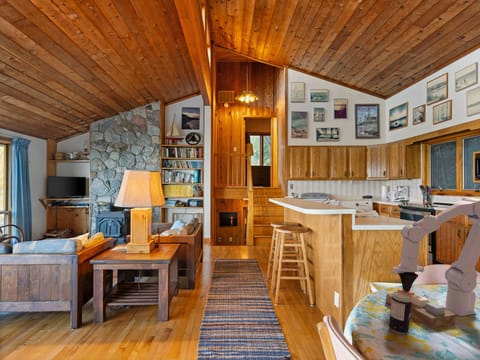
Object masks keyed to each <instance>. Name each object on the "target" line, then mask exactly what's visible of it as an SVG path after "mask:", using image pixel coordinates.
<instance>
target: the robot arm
mask: <svg viewBox="0 0 480 360" xmlns="http://www.w3.org/2000/svg"><path fill="white" fill-rule="evenodd" d="M460 215H463V216H466V217H468V218H469V220H470V221H471V223H472V226H471V228H470V230H469V232H468V235H467V237H466V239H465V242H464V244H463V247H462V249H461V251H460V255H459V256H458V259H457V260H456V261H454V262H451V264H450V266H449V267H448V269H446V270H445V272H444V278H445V280H446V281H447V289H446V297H445V298H446V300H445V304H440V305H441V306H443V307H445V309H446V310H448V311H450V312H452V313H454V314H456V316H459V317H463V316H471V315H477V312H476V311H475V307H476V306H475V305H476V299H477V298H476V297H477V296H476V293H475V289H476V288H477V286H478V284H477V279H478V277H479V276H478V272H477V270H476V269H475V268H476V265H477V263H478V260H479V258H480V199H479V198H473V197H469V196H467V197H466V196H465V197H463V198H461V199H459V200H457V201H456V202H455V203H454V204H452V205H450V206H449V207H447V208H445V209H444V210H443V211H442V210H441V212H439V213H437V214H436V215H431V214H429V215H428V214H426V215H424V216H423V218H422V219H419V220H417V221H413V222H412V224H407V225H405V226H403V227H402V229H401V230H400V234H401V237H402V244H401V245H402V247H401V256H400V263H399V264H398V265H397V266H394V267H393V266H392V271H391V273H393V274H395V275H398V276H399V279H400V282H401V287H402V288H401V289H403V290H405V291H407V292H408V291H411V288H412V286H413V284H414V282H415V281H416V280H417V278H419V274H418V273H419V272H420V273H424V272H425V267H424V266H421V265H418V264H419V254H420V247H421V246H420V245H421V242H422V241H423V240H424V238H425V237H426V236H427V235H429V234H431V233H433V232H435V231H437V230H439V229H440V227H441V225H442V223H445V222H447V221H449V220H451V219H454V218H456V217H458V216H460Z"/></svg>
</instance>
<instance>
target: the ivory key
mask: <svg viewBox="0 0 480 360" xmlns="http://www.w3.org/2000/svg"><path fill="white" fill-rule="evenodd" d="M411 301H412V303H413V304H415V305H417V306H419V307H426V303H428V302H430V299H428V298H426V297H424V296H422V295H420V294H415V295H414V296H411Z"/></svg>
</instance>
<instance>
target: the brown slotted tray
mask: <svg viewBox="0 0 480 360" xmlns="http://www.w3.org/2000/svg"><path fill="white" fill-rule="evenodd" d="M393 294H394V292H393V293H386V297H385V303H386V302H387V303H388V305H389V304H390V305H389V306H391V300H392V295H393ZM414 295H416V294H415V293H414ZM430 302H431V301H429V302H428V303H430ZM387 303H386V304H387ZM425 308H426V307H419V306H417V305H415V304H413V303H411V312H410V318H412V319H414V320H415V321H418V322H419V323H421V324H422V325H424V326H426V327H427V328H430V329H435V328H441V327H448V326H453V325H456V320H457V319H456V318H457V314H455V313H453V312H450V311H448V310H446V309H445V310H444V315H438V316H436V315H434V314H432V313H430V312H428V311H426V310H425Z"/></svg>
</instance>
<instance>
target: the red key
mask: <svg viewBox="0 0 480 360" xmlns="http://www.w3.org/2000/svg"><path fill="white" fill-rule="evenodd" d="M397 292H402V293H405V294H408V295H409V296H410V297H411V296H414V294H415V292H414V291H411V290H410V291H408V292H407V291H405V290H403V288H398V289H397Z"/></svg>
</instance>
